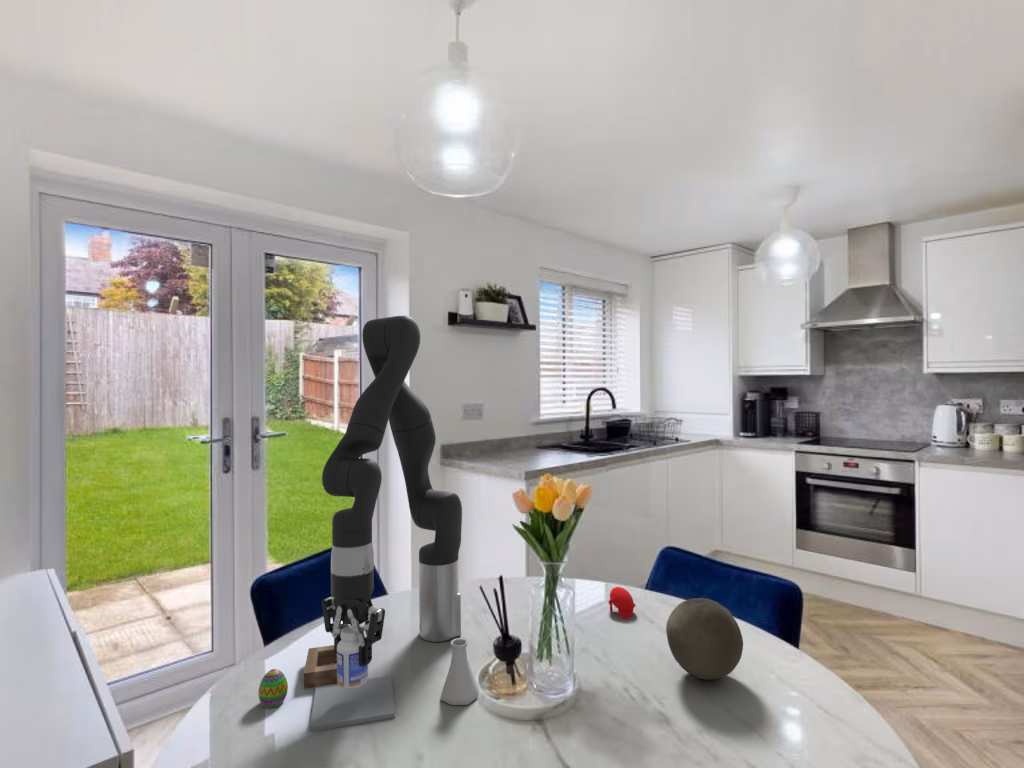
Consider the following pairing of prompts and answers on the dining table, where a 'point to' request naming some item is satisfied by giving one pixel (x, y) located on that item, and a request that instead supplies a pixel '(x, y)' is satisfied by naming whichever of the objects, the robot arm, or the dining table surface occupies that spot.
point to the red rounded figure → (622, 602)
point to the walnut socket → (320, 667)
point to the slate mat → (352, 704)
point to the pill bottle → (350, 661)
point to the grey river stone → (704, 638)
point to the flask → (459, 677)
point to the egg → (273, 688)
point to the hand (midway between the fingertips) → (352, 660)
